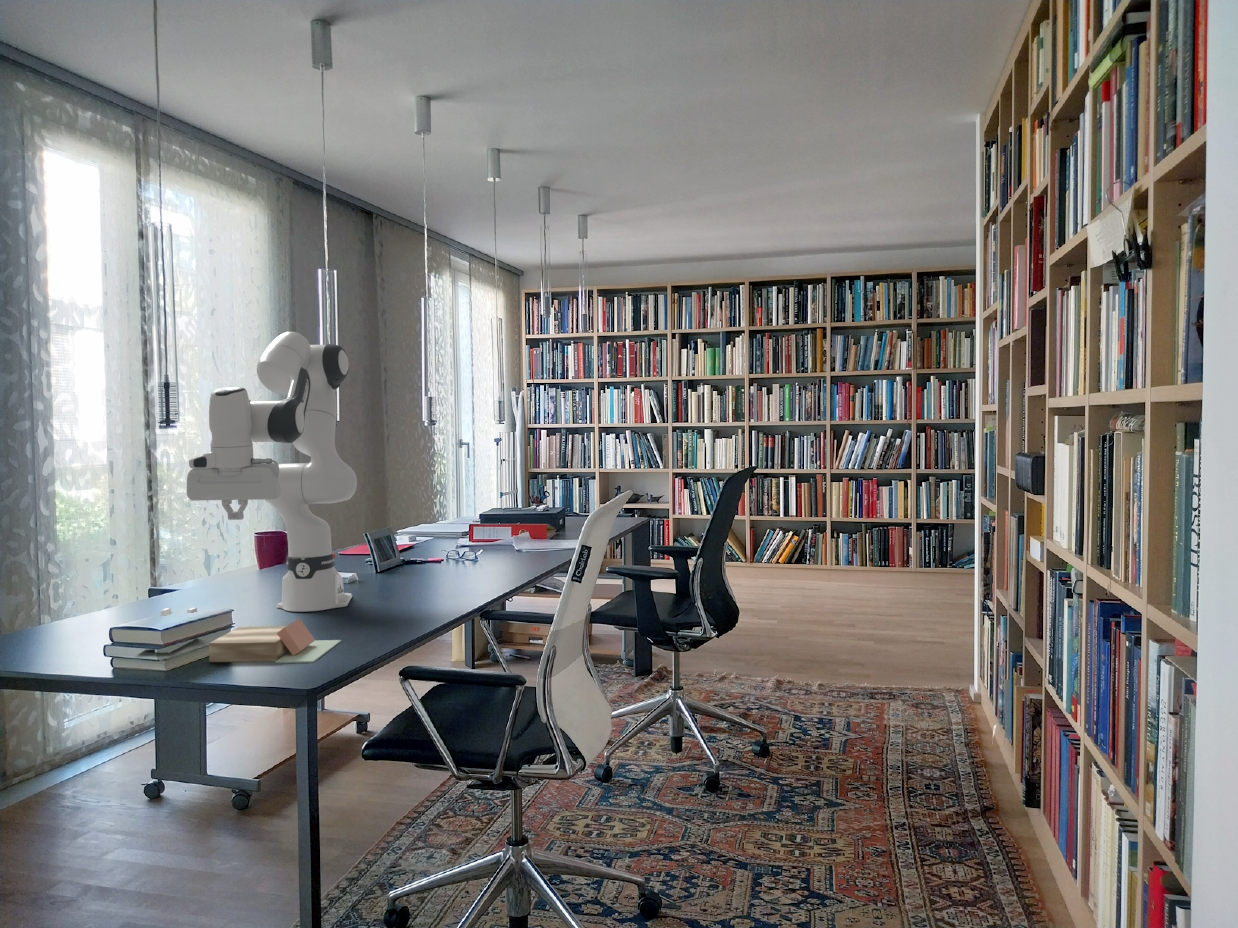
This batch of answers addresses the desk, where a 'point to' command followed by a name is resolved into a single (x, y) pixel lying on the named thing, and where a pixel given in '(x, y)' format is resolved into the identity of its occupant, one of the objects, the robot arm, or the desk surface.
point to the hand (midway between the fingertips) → (235, 519)
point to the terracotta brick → (296, 637)
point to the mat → (309, 652)
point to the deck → (248, 645)
